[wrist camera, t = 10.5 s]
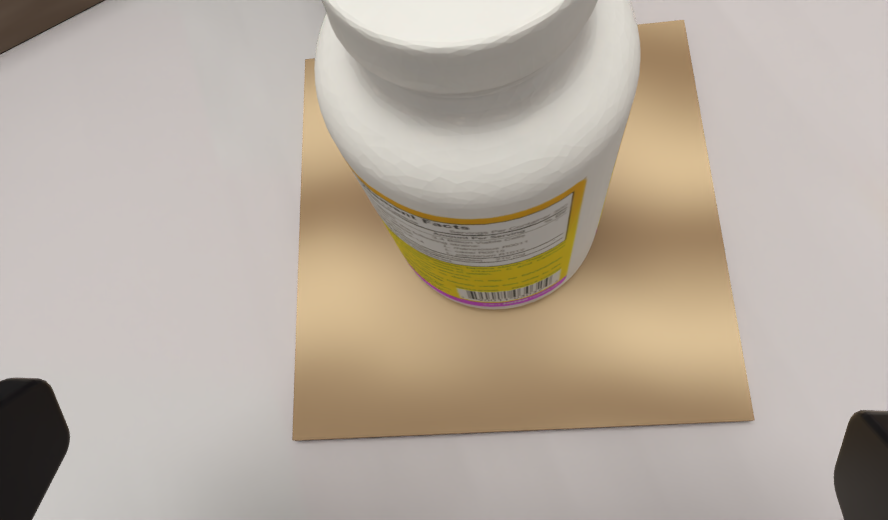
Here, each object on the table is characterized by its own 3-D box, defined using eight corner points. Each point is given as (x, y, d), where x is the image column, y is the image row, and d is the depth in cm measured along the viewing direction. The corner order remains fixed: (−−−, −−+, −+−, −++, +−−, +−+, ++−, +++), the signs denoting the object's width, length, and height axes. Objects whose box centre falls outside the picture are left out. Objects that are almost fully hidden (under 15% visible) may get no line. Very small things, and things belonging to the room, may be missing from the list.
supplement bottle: (478, 98, 24) (428, -297, 11) (636, 198, 22) (776, -145, 10) (358, 239, 22) (160, -32, 10) (512, 357, 21) (494, 199, 8)
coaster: (750, 421, 20) (754, 420, 19) (296, 440, 21) (292, 440, 21) (681, 27, 24) (683, 19, 24) (308, 65, 25) (305, 59, 25)
